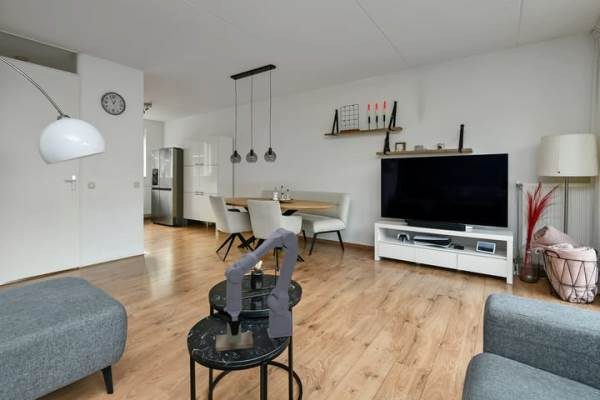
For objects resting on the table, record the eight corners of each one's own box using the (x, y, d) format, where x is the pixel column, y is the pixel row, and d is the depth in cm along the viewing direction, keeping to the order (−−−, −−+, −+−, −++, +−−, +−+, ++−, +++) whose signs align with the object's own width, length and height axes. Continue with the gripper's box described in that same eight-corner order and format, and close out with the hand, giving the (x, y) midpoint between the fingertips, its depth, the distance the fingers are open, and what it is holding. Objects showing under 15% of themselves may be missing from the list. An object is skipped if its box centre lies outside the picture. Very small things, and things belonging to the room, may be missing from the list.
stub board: (251, 335, 128) (251, 324, 128) (253, 347, 120) (253, 335, 119) (216, 339, 125) (216, 328, 125) (215, 351, 116) (215, 340, 116)
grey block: (240, 335, 125) (240, 322, 125) (241, 342, 120) (241, 328, 120) (227, 336, 124) (227, 323, 124) (227, 343, 119) (227, 329, 119)
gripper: (223, 290, 127) (224, 322, 128) (223, 305, 113) (223, 341, 114) (241, 289, 129) (241, 320, 130) (243, 303, 115) (243, 338, 116)
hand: (234, 330), depth 122 cm, fingers open, 7 cm apart
